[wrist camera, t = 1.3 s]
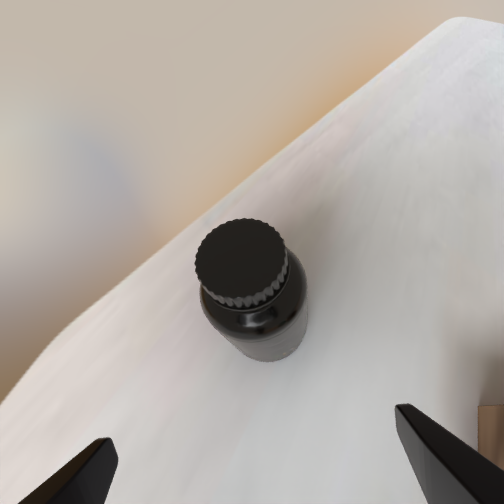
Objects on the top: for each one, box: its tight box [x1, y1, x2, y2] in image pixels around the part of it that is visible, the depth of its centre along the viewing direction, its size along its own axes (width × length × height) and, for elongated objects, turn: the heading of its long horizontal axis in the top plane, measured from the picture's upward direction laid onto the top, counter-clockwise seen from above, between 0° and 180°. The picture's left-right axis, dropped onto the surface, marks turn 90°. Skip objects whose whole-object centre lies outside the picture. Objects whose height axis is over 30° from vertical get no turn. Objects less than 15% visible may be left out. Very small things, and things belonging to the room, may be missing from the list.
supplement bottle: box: [195, 218, 307, 362], centre depth 18 cm, size 7×7×12 cm
